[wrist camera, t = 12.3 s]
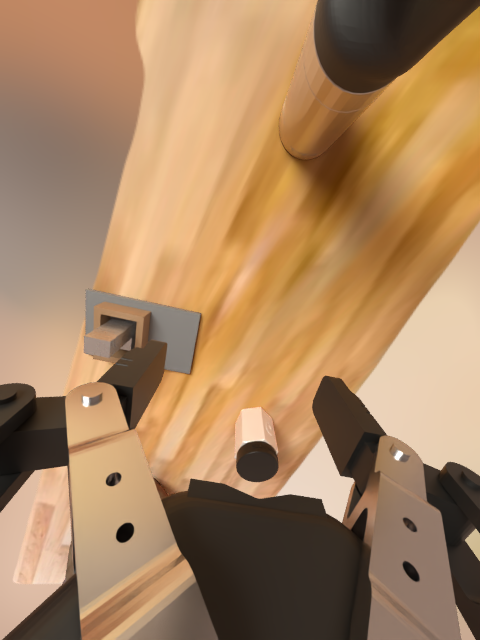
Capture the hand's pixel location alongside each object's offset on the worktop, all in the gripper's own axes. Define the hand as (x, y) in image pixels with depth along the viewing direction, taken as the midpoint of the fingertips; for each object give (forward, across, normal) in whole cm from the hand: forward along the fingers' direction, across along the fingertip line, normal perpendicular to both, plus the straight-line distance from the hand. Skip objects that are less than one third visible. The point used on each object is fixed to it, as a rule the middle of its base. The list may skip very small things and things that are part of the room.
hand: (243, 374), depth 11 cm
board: (+33, +17, +16) cm, 40 cm away
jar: (+33, -11, +33) cm, 48 cm away
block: (+32, +20, +16) cm, 41 cm away
